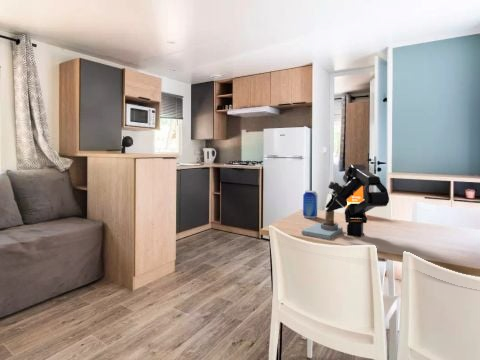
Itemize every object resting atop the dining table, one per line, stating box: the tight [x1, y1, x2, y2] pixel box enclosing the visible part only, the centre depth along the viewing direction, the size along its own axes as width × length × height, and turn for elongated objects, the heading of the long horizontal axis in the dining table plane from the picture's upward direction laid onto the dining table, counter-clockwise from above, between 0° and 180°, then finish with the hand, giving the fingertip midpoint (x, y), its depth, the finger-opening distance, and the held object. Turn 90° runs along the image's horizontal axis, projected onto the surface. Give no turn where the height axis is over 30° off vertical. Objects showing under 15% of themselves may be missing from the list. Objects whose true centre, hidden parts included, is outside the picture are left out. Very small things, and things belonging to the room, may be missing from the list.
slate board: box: [301, 222, 344, 240], centre depth 149 cm, size 14×17×4 cm
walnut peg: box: [325, 210, 335, 226], centre depth 150 cm, size 4×4×9 cm
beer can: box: [302, 190, 318, 219], centre depth 183 cm, size 8×8×16 cm
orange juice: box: [345, 186, 364, 209], centre depth 190 cm, size 8×9×20 cm
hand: (326, 209), depth 150 cm, fingers open, 9 cm apart
